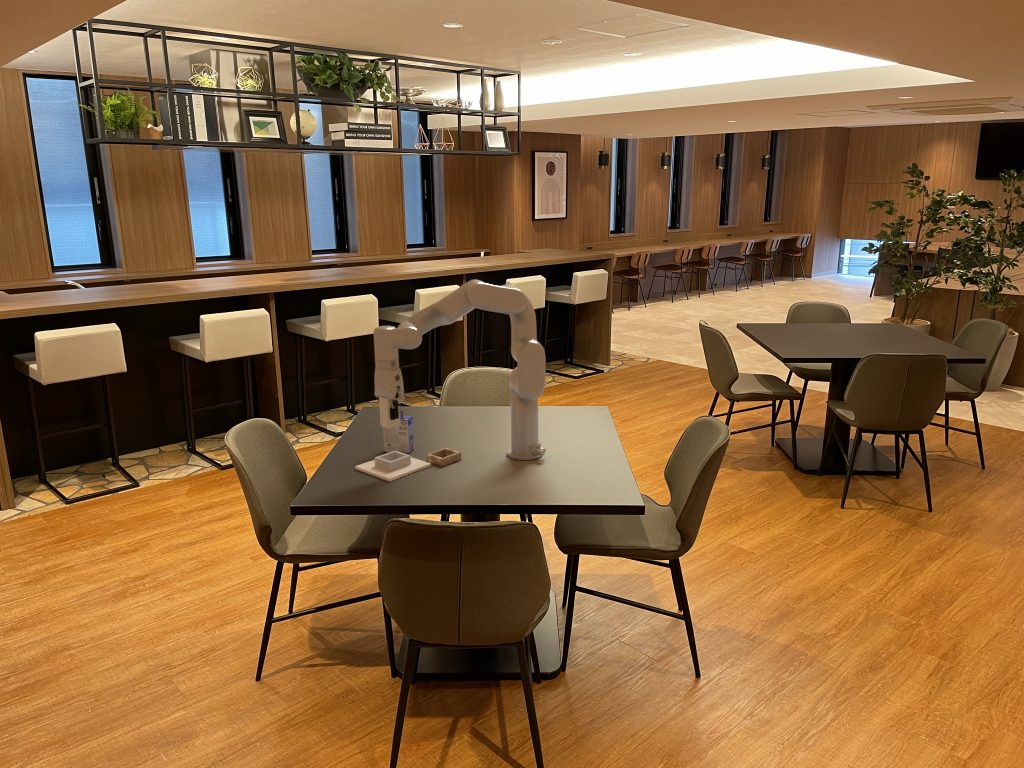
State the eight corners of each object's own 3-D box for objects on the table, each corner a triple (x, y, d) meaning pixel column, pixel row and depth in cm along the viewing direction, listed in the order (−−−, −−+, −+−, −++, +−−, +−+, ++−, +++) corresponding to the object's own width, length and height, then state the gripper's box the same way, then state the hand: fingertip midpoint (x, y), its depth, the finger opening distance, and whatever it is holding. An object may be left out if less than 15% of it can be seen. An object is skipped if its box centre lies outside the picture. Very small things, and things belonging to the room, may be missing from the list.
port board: (431, 466, 262) (430, 455, 261) (389, 481, 249) (388, 470, 248) (396, 454, 274) (395, 444, 273) (355, 469, 261) (354, 457, 260)
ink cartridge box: (415, 448, 280) (413, 410, 277) (410, 453, 275) (408, 414, 271) (389, 447, 282) (387, 409, 278) (383, 452, 277) (381, 413, 273)
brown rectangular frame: (461, 459, 268) (461, 452, 268) (442, 466, 262) (442, 459, 261) (445, 454, 274) (445, 447, 273) (426, 461, 267) (426, 454, 266)
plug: (400, 424, 258) (398, 392, 255) (388, 428, 255) (386, 395, 252) (392, 422, 261) (390, 390, 258) (380, 425, 257) (378, 393, 254)
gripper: (412, 365, 250) (415, 420, 254) (379, 358, 260) (382, 410, 265) (394, 369, 244) (397, 425, 249) (361, 362, 255) (365, 415, 260)
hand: (389, 417), depth 257 cm, fingers closed on plug, 4 cm apart
